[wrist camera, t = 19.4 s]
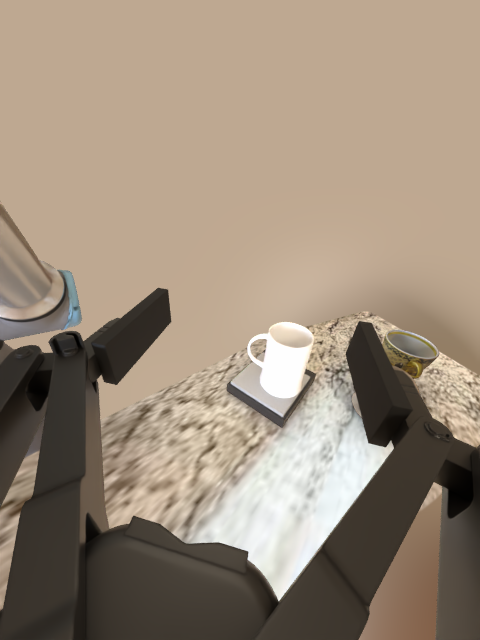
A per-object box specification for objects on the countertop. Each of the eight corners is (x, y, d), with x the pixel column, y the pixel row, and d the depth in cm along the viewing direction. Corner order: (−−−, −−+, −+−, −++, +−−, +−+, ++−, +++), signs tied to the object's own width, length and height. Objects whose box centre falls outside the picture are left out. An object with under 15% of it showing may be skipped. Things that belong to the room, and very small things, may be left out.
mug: (238, 383, 47) (242, 334, 41) (253, 357, 54) (259, 312, 48) (296, 405, 44) (311, 355, 37) (304, 374, 51) (318, 328, 44)
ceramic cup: (366, 357, 61) (381, 325, 56) (409, 367, 59) (429, 335, 54) (375, 395, 51) (395, 360, 45) (427, 409, 49) (454, 374, 43)
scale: (226, 390, 49) (227, 381, 47) (264, 354, 59) (266, 346, 58) (282, 427, 43) (284, 418, 41) (313, 380, 53) (317, 371, 52)
